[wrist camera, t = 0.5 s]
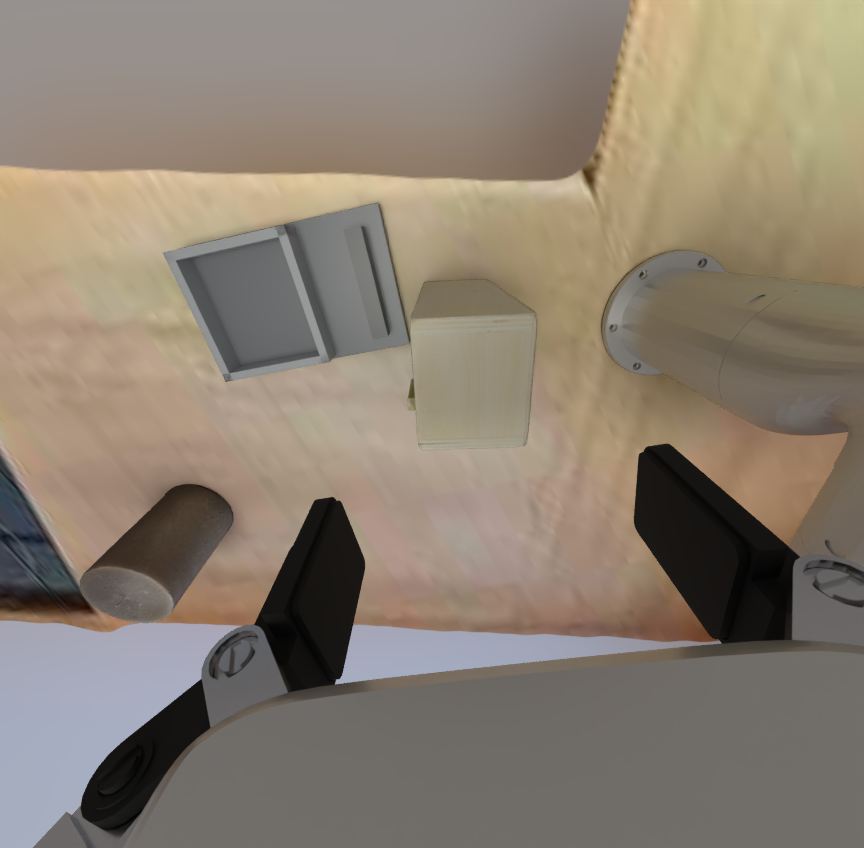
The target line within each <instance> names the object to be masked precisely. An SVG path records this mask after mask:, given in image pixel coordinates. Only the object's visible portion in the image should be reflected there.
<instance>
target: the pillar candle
mask: <svg viewBox="0 0 864 848" xmlns="http://www.w3.org/2000/svg"><path fill="white" fill-rule="evenodd" d="M232 521H233V514H232V511H231V508H230V506H229V505H228V504H227V503H226V501H225V500H224V499H222V498H221V497H220V496H219V495H217V494H216V493H214V492H212V491H210V490H207V489H205V488H202V487H199V486H196V485H181V486H176V487H174V488H172V489H171V490H169V491H168V492H167V493H166V494H165V496H164V497H163V498H162V499H161V500H160V501H159V502H158V503H157V504H156V505H155V506H153V507H152V509H151V510H150V511H148V512H147V513H146V514H145V515H144V516H143V517H142V518H141V519H140V520H139V521H138V522H137V523H136V524H135V525H134V526H133V527H132V528H131V529H130V530H128V531H127V532H126V533H125V534H124V535H123V536H122V537H121V538H120V539H119V540H118V541H117V542H116V543H115V544H114V545H113V546H112V547H111V548H110V549H109V550H107V551H106V553H104V555H102V556H101V557H100V558H99V559H98V560H97V561H96V562H95V563H94V564H93V565H92V566H91V567H90V568H89V569H88V570H87V571H86V572H85V573H84V574H83V576H82V578H81V580H80V590H81V593H82V594H83V596H84V597H85V599H86V600H87V601H88V602H89V603H91V604H92V605H93V606H94V607H96V608H97V609H98V610H100V611H101V612H103V613H106V614H108V615H110V616H112V617H115V618H118V619H121V620H126V621H130V622H133V623H150V622H151V623H152V622H154V621H159V620H163V618H166V617H168V615H169V614H170V613H171V612H172V611H173V609H174V608H175V606H176V605H177V603H178V602H179V600H180V599H181V597H182V596H183V594H184V593H185V591H186V590H187V588H188V587H189V586H190V584H191V583H192V581H193V580H194V579H195V577H196V576H197V574H198V573H199V571H200V570H201V568H202V567H203V566H204V564H205V563H206V561H207V560H208V559H209V557H210V556H211V554H212V553H213V552H214V550H215V549H216V547H217V546H218V544H219V543H220V541H221V540H222V539H223V537H224V536H225V534H226V533H227V531H228V530H229V528H230V526H231V524H232Z"/></svg>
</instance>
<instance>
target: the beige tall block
mask: <svg viewBox="0 0 864 848" xmlns="http://www.w3.org/2000/svg"><path fill="white" fill-rule="evenodd" d="M410 337H411V352H412V366H413V379H412V380H411V384H410V390H409V395H408V410H416V422H417V435H418V446H419V448H420V449H421V450H450V449H481V448H511V447H522V446H525V445H526V443H527V439H528V431H529V420H530V408H531V395H532V382H533V370H534V359H535V348H536V337H537V314H536V312H535V311H534V310H532V309H531V308H529V307H528V306H526V305H525V304H523V303H522V302H520V301H519V300H517V299H516V298H514V297H512V296H511V295H509V294H508V293H506V292H505V291H503V290H502V289H501V288H499V287H498V286H496V285H495V284H493V283H492V282H490V281H489V280H487V279H477V280H455V281H433V282H424V284H423V287H422V289H421V292H420V295H419V298H418V300H417V303H416V305H415V308H414V311H413V313H412V316H411V318H410Z"/></svg>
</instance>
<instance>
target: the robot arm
mask: <svg viewBox="0 0 864 848" xmlns="http://www.w3.org/2000/svg"><path fill="white" fill-rule="evenodd" d="M698 262H699V263H698ZM640 273H641V275H640ZM639 275H640V276H639ZM611 325H612V326H611ZM610 326H611V328H609V327H610ZM602 336H603V342H604V345H605V348H606V350H607V352H608V353H609V355H610V356H611V358H612V359H613V360H614V361H615V362H616V363H617V364H618V365H620V366H622V367H623V368H624V369H626V370H628V371H630V372H633V373H636V374H641V375H659V374H665V375H667V376H669V377H670V378H672V379H674V380H676V381H677V382H679V383H681V384H683V385H684V386H686V387H688V388H690V389H691V390H693V391H695V392H697V393H698V394H700V395H702V396H704V397H705V398H707V399H709V400H710V401H712V402H714V403H716V404H717V405H719V406H721V407H723V408H724V409H726V410H728V411H730V412H731V413H733V414H735V415H737V416H739V417H741V418H742V419H744V420H746V421H748V422H749V423H752V424H754V425H756V426H758V427H760V428H763V429H766V430H769V431H772V432H777V433H782V434H788V435H824V434H834V433H842V432H848V437H847V440H846V443H845V445H844V447H843V449H842V451H841V453H840V455H839V456H838V458H837V460H836V462H835V463H834V468H833V470H832V472H831V473H830V475H829V477H828V478H827V480H826V482H825V483H824V485H823V487H822V488H821V490H820V492H819V493H818V495H817V497H816V498H815V500H814V502H813V503H812V505H811V507H810V508H809V510H808V512H807V513H806V515H805V517H804V518H803V520H802V522H801V523H800V525H799V527H798V529H797V530H796V532H795V534H794V536H793V538H792V540H791V542H790V544H789V546H787V545H786V544H785V543H784V542H783V541H781V540H780V539H779V538H778V537H777V536H776V535H774V534H773V533H772V532H771V531H770V530H769V529H768V528H766V527H765V526H764V525H763V524H762V523H761V522H759V521H758V520H757V519H756V518H755V517H754V516H752V515H751V514H750V513H749V512H748V511H747V510H745V509H744V508H743V507H742V506H741V505H740V504H739V503H737V502H736V501H735V500H734V499H733V498H732V497H730V496H729V495H728V494H727V493H726V492H725V491H723V490H722V489H721V488H720V487H719V486H718V485H716V484H715V483H714V482H713V481H712V480H711V479H710V478H708V477H707V476H706V475H705V474H704V473H703V472H701V471H700V470H699V469H698V468H697V467H696V466H694V465H693V464H692V463H691V462H690V461H689V460H688V459H686V458H685V457H684V456H683V455H682V454H681V453H679V452H678V451H677V450H676V449H675V448H674V447H672V446H671V445H670V444H661V445H655V446H648V447H646V448H645V450H644V452H642V453H640V454H639V459H638V472H637V485H636V498H635V511H634V524H635V528H636V530H637V532H638V533H639V535H640V536H641V538H642V539H643V541H644V542H645V543H646V545H647V546H648V548H649V549H650V551H651V552H652V553H653V555H654V556H655V558H656V559H657V561H658V562H659V564H660V565H661V566H662V568H663V569H664V571H665V572H666V574H667V575H668V576H669V578H670V579H671V581H672V582H673V584H674V585H675V587H676V588H677V589H678V591H679V592H680V594H681V595H682V597H683V598H684V599H685V601H686V602H687V604H688V605H689V607H690V608H691V609H692V611H693V612H694V614H695V615H696V617H697V618H698V620H699V621H700V622H701V624H702V625H703V627H704V628H705V630H706V631H707V632H708V634H709V635H710V636H711V637H712V638H714V639H719V640H720V641H721V643H722V644H713V645H701V646H689V647H679V648H668V649H658V650H648V651H638V652H628V653H618V654H608V655H598V656H588V657H578V658H568V659H559V660H550V661H539V662H530V663H520V664H511V665H501V666H493V667H483V668H474V669H464V670H455V671H446V672H437V673H428V674H419V675H410V676H401V677H392V678H383V679H375V680H367V681H359V682H352V683H344V684H336V685H335V682H336V679H340V678H341V676H342V673H343V668H344V664H345V659H346V655H347V650H348V645H349V640H350V636H351V631H352V626H353V622H354V617H355V613H356V608H357V604H358V599H359V594H360V590H361V585H362V580H363V576H364V571H365V560H364V557H363V554H362V552H361V549H360V547H359V544H358V542H357V539H356V537H355V534H354V532H353V529H352V527H351V525H350V522H349V520H348V517H347V515H346V512H345V510H344V507H343V505H342V503H341V501H336V499H335V498H334V497H330V498H323V499H317V500H315V501H314V503H313V505H312V507H311V509H310V511H309V513H308V515H307V517H306V520H305V522H304V524H303V526H302V528H301V530H300V532H299V534H298V537H297V539H296V541H295V543H294V545H293V546H292V547H291V549H290V550H289V552H288V555H287V557H286V559H285V561H284V563H283V565H282V567H281V569H280V572H279V574H278V576H277V578H276V580H275V582H274V584H273V586H272V588H271V591H270V593H269V595H268V597H267V599H266V601H265V603H264V605H263V607H262V610H261V612H260V614H259V616H258V618H257V620H256V622H255V624H254V625H245V626H242V627H239V628H237V629H235V630H233V631H231V632H230V633H228V634H227V635H225V636H224V637H223V638H222V639H221V640H219V641H218V643H217V644H216V645H215V646H214V647H213V648H212V649H211V651H210V653H209V654H208V656H207V657H206V659H205V661H204V664H203V667H202V679H201V680H200V681H198V682H197V683H196V684H195V685H193V686H192V687H191V688H189V689H188V690H187V691H186V692H184V693H183V694H182V695H181V696H179V697H178V698H177V699H176V700H174V701H173V702H172V703H171V704H170V705H168V706H167V707H166V708H164V709H163V710H162V711H161V712H159V713H158V714H157V715H156V716H154V717H153V718H152V719H151V720H149V721H148V722H147V723H146V724H144V725H143V726H142V727H141V728H139V729H138V730H137V731H136V732H134V733H133V734H132V735H131V736H129V737H128V738H127V739H126V740H125V741H123V742H122V743H121V744H120V745H119V746H117V747H116V748H115V749H114V750H113V751H112V752H111V753H110V754H109V755H108V756H107V757H106V759H105V760H104V761H103V762H102V763H101V765H100V766H99V767H98V768H97V770H96V772H95V773H94V774H93V776H92V778H91V779H90V781H89V783H88V785H87V787H86V789H85V792H84V794H83V797H82V802H81V806H80V807H79V808H78V809H77V810H76V811H75V812H74V814H73V815H71V814H69V813H67V812H66V813H65V814H64V815H63V816H62V817H61V818H60V820H59V821H58V822H57V823H56V824H55V825H54V826H53V827H52V828H51V829H50V830H49V831H48V832H47V833H46V834H45V836H44V837H43V838H42V839H41V840H40V841H39V842H38V843H37V844H36V845H35V846H34V847H33V848H864V287H859V286H849V285H839V284H828V283H819V282H809V281H800V280H790V279H781V278H771V277H762V276H752V275H743V274H734V273H727V272H726V270H725V269H724V268H723V267H722V265H721V264H720V263H719V262H718V261H717V260H715V259H714V258H712V257H711V256H709V255H706V254H704V253H701V252H696V251H672V252H667V253H662V254H660V255H657V256H655V257H652V258H650V259H648V260H647V261H645V262H643V263H642V264H640V265H638V266H637V267H636V268H635V269H633V270H632V271H631V272H630V273H629V274H627V276H626V277H625V278H624V279H623V280H622V281H621V282H620V283H619V284H618V286H617V287H616V289H615V291H614V292H613V294H612V295H611V297H610V299H609V301H608V304H607V306H606V308H605V312H604V316H603V321H602Z"/></svg>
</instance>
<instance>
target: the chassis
mask: <svg viewBox="0 0 864 848" xmlns="http://www.w3.org/2000/svg"><path fill="white" fill-rule="evenodd" d="M163 254H164V256H165V258H166V260H167V262H168V264H169V266H170V268H171V270H172V272H173V275H174V277H175V279H176V281H177V283H178V285H179V287H180V289H181V291H182V293H183V295H184V297H185V299H186V301H187V303H188V305H189V307H190V309H191V311H192V314H193V316H194V318H195V320H196V322H197V324H198V326H199V328H200V330H201V332H202V334H203V336H204V338H205V340H206V342H207V344H208V346H209V348H210V350H211V352H212V355H213V357H214V359H215V361H216V363H217V365H218V367H219V369H220V371H221V373H222V375H223V377H224V379H225V381H226V382H227V381H232V380H238V379H243V378H248V377H253V376H259V375H264V374H269V373H275V372H280V371H285V370H290V369H296V368H301V367H306V366H311V365H317V364H322V363H327V362H330V361H331V360H332V359H333V358H338V357H343V356H348V355H354V354H359V353H364V352H369V351H375V350H380V349H385V348H390V347H396V346H401V345H406V344H409V343H410V339H409V335H408V330H407V326H406V321H405V317H404V312H403V308H402V303H401V299H400V294H399V290H398V285H397V281H396V276H395V272H394V267H393V263H392V258H391V254H390V249H389V245H388V240H387V236H386V231H385V227H384V222H383V218H382V213H381V209H380V204H379V203H375V204H370V205H366V206H362V207H357V208H353V209H349V210H344V211H340V212H336V213H331V214H327V215H323V216H318V217H314V218H310V219H305V220H301V221H297V222H292V223H288V224H283V225H279V226H275V227H270V228H266V229H262V230H257V231H253V232H249V233H244V234H240V235H236V236H231V237H227V238H223V239H218V240H214V241H210V242H205V243H201V244H197V245H192V246H188V247H184V248H179V249H177V250H172V251H168V252H164V253H163Z"/></svg>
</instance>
